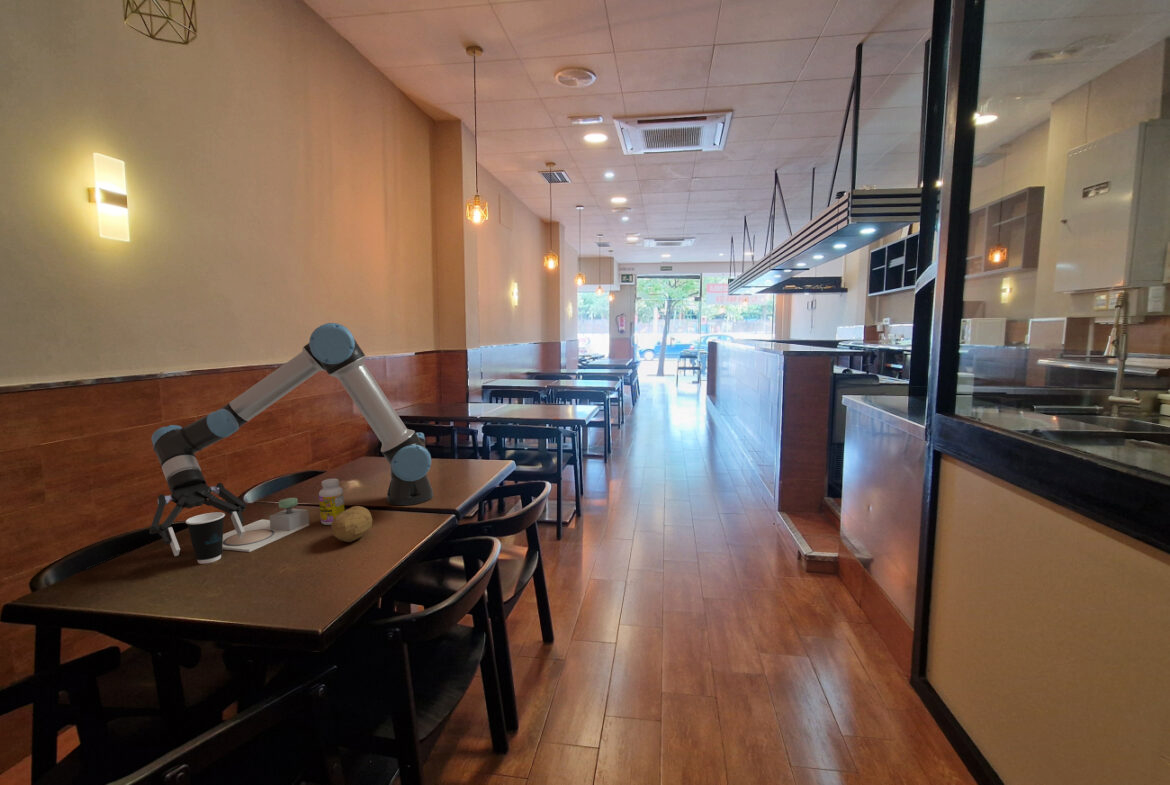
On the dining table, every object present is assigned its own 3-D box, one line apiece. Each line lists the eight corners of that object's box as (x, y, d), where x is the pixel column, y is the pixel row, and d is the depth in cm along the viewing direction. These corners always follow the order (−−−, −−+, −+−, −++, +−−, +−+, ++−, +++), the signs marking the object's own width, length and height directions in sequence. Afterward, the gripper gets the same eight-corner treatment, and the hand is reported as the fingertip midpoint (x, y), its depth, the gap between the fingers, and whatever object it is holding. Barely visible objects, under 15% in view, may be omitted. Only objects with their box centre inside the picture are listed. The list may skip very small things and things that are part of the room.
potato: (322, 550, 132) (319, 520, 131) (345, 530, 146) (343, 503, 145) (359, 548, 132) (357, 519, 132) (379, 529, 146) (377, 502, 146)
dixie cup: (201, 554, 131) (197, 513, 130) (234, 551, 133) (230, 511, 132) (182, 567, 124) (177, 524, 122) (218, 564, 125) (214, 521, 124)
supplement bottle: (315, 524, 152) (312, 482, 151) (334, 517, 158) (331, 476, 157) (332, 526, 150) (328, 484, 148) (350, 519, 156) (347, 478, 155)
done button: (302, 518, 151) (301, 498, 151) (289, 523, 146) (287, 503, 146) (289, 517, 152) (288, 497, 152) (276, 522, 148) (274, 502, 147)
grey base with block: (310, 524, 152) (309, 509, 152) (249, 551, 132) (248, 534, 132) (262, 520, 157) (261, 506, 156) (196, 546, 137) (195, 530, 137)
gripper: (235, 474, 146) (262, 535, 138) (120, 496, 126) (144, 569, 118) (241, 458, 142) (269, 520, 135) (123, 478, 122) (149, 552, 114)
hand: (211, 543), depth 126 cm, fingers open, 13 cm apart
